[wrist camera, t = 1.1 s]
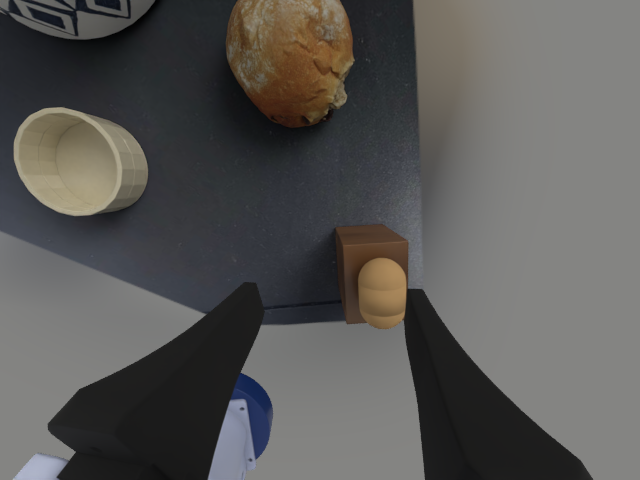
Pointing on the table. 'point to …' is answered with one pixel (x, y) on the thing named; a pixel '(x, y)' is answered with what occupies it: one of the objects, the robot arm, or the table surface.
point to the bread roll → (291, 57)
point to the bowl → (79, 162)
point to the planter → (76, 16)
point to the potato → (382, 293)
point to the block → (364, 260)
